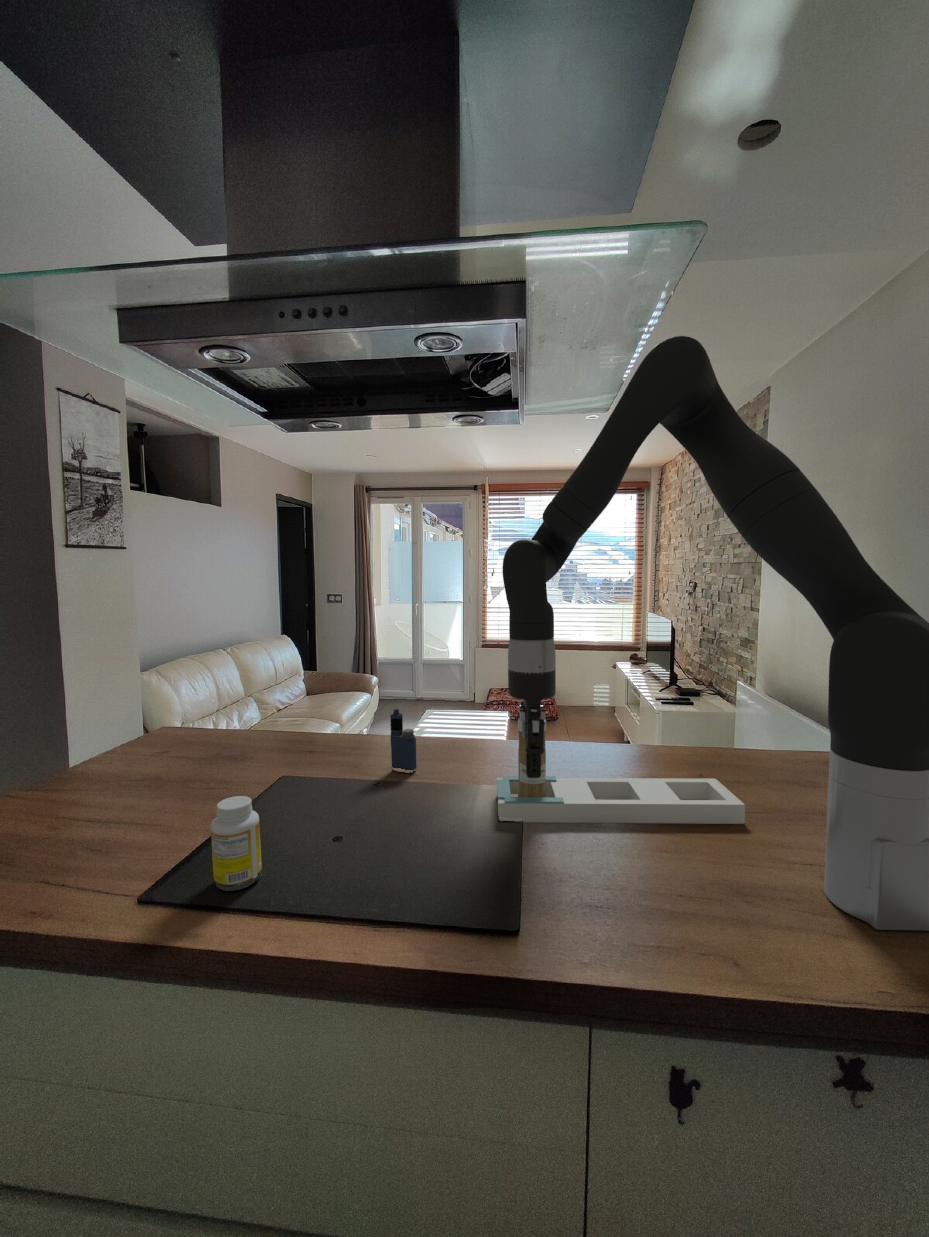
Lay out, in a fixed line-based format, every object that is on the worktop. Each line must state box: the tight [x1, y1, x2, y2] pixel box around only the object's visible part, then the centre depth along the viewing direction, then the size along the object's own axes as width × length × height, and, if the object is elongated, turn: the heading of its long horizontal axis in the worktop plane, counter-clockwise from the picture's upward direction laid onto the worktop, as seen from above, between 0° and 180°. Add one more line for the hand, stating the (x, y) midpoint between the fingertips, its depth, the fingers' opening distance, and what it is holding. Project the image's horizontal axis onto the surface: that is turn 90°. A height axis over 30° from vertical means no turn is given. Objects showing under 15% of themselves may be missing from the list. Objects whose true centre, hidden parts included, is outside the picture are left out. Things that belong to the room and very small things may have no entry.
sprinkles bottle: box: [517, 717, 547, 797], centre depth 83 cm, size 5×5×14 cm
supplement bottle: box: [210, 795, 263, 887], centre depth 64 cm, size 6×6×10 cm
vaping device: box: [389, 708, 418, 770], centre depth 100 cm, size 3×5×12 cm, turn 67°
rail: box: [496, 775, 746, 825], centre depth 83 cm, size 10×37×3 cm, turn 88°
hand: (532, 770), depth 83 cm, fingers closed on sprinkles bottle, 4 cm apart
